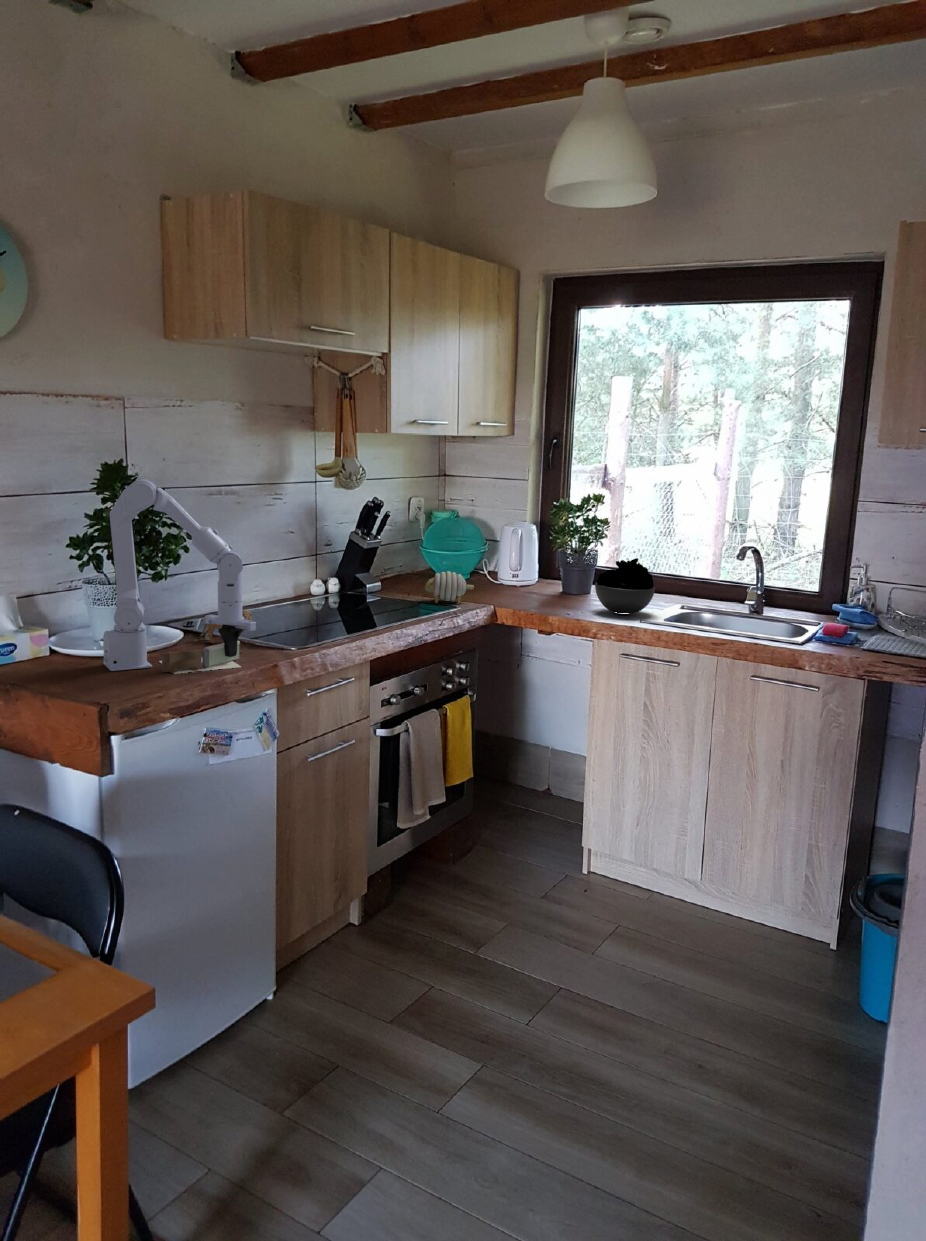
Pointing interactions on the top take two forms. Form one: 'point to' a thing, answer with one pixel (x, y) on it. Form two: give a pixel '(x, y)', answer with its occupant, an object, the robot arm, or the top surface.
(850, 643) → the top surface
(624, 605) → the bowl of black rocks
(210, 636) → the lion figurine
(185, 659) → the brown wooden block
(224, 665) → the card
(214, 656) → the pale green long block
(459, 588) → the toy sheep
